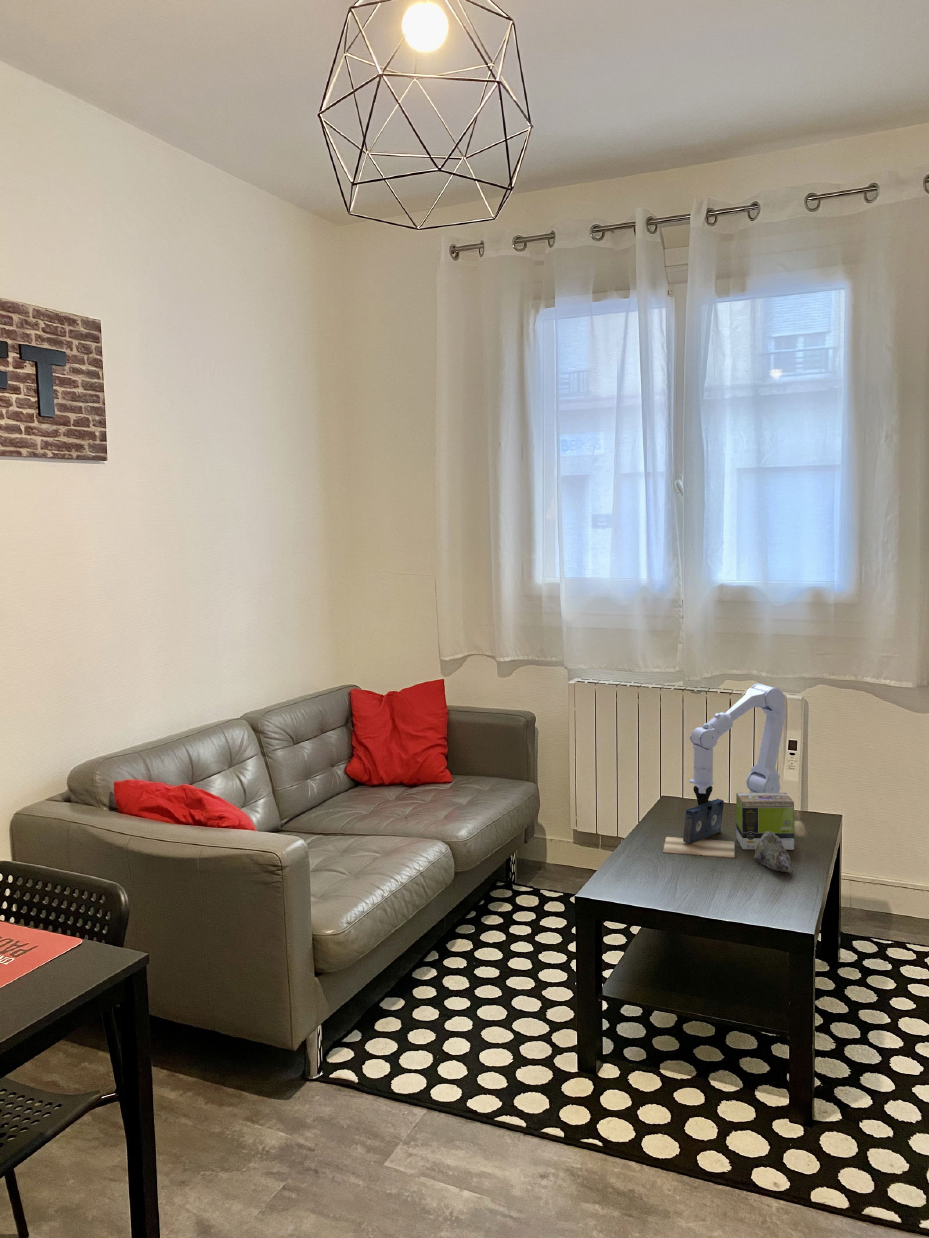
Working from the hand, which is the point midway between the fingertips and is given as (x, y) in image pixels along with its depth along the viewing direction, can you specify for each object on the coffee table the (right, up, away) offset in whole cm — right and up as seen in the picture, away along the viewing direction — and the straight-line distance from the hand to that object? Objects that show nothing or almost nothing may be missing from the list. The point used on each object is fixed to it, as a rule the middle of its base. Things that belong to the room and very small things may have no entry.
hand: (702, 809), depth 301 cm
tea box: (+15, -8, -12) cm, 21 cm away
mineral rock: (+12, -10, -31) cm, 35 cm away
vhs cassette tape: (-1, -7, -5) cm, 9 cm away
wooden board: (-4, -8, -13) cm, 16 cm away
